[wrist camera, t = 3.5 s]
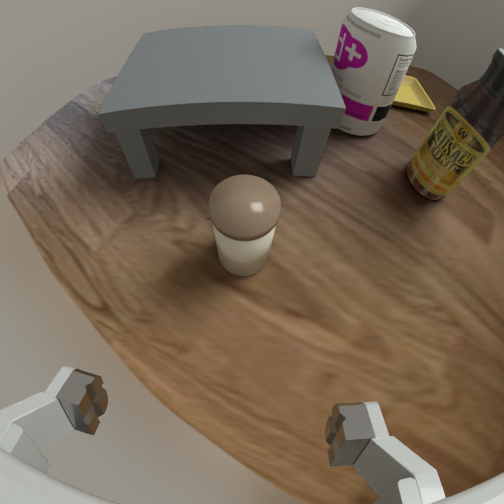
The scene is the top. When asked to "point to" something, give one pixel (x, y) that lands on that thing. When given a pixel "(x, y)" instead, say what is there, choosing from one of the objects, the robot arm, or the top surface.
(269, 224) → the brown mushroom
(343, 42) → the supplement can
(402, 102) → the yellow shallow tray
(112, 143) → the top surface
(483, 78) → the sauce bottle
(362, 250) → the top surface
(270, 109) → the footstool
